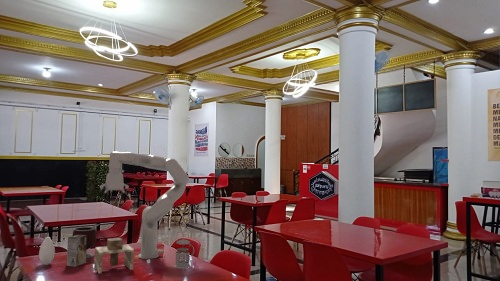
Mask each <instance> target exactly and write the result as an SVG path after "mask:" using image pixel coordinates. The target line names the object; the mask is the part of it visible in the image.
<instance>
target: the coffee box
mask: <svg viewBox="0 0 500 281" xmlns="http://www.w3.org/2000/svg"><path fill="white" fill-rule="evenodd" d="M86 248H87V235H75V236H68V237H67V250H66V253H67V254H66V267H78V266H80V265H83V264H86V263H87V258H86V252H87V250H86Z"/></svg>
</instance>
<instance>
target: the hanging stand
mask: <svg viewBox="0 0 500 281" xmlns="http://www.w3.org/2000/svg"><path fill="white" fill-rule="evenodd" d="M110 253H118V254H120V253H124V262H123V263H124V265H125V266H126V267H127V268H128V269H129V271H133V270H134V255H135V249H134V248H133V247H132V246H130V245H129V244H123V248H122V249H118V250H109V249H108V248H107V245H106V246H95V248H94V262H93V263H94V264H93V265H94V266H93V267H94V269H95V271H97V273H98V274H103V273H102V272H103V255H108V254H109V255H110Z"/></svg>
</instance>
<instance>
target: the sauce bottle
mask: <svg viewBox="0 0 500 281" xmlns="http://www.w3.org/2000/svg"><path fill="white" fill-rule="evenodd" d="M55 254H56V250H55V245H54V242H53V240H52V239H51V237H50V236H49V233H47V237H45V239H44V240H43V241H42V243H41V245H40V247H39V252H38V258H39V261H40V263H41V264H43V265H44V266H48V265H50V263H53V260H54V257H55Z"/></svg>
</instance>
